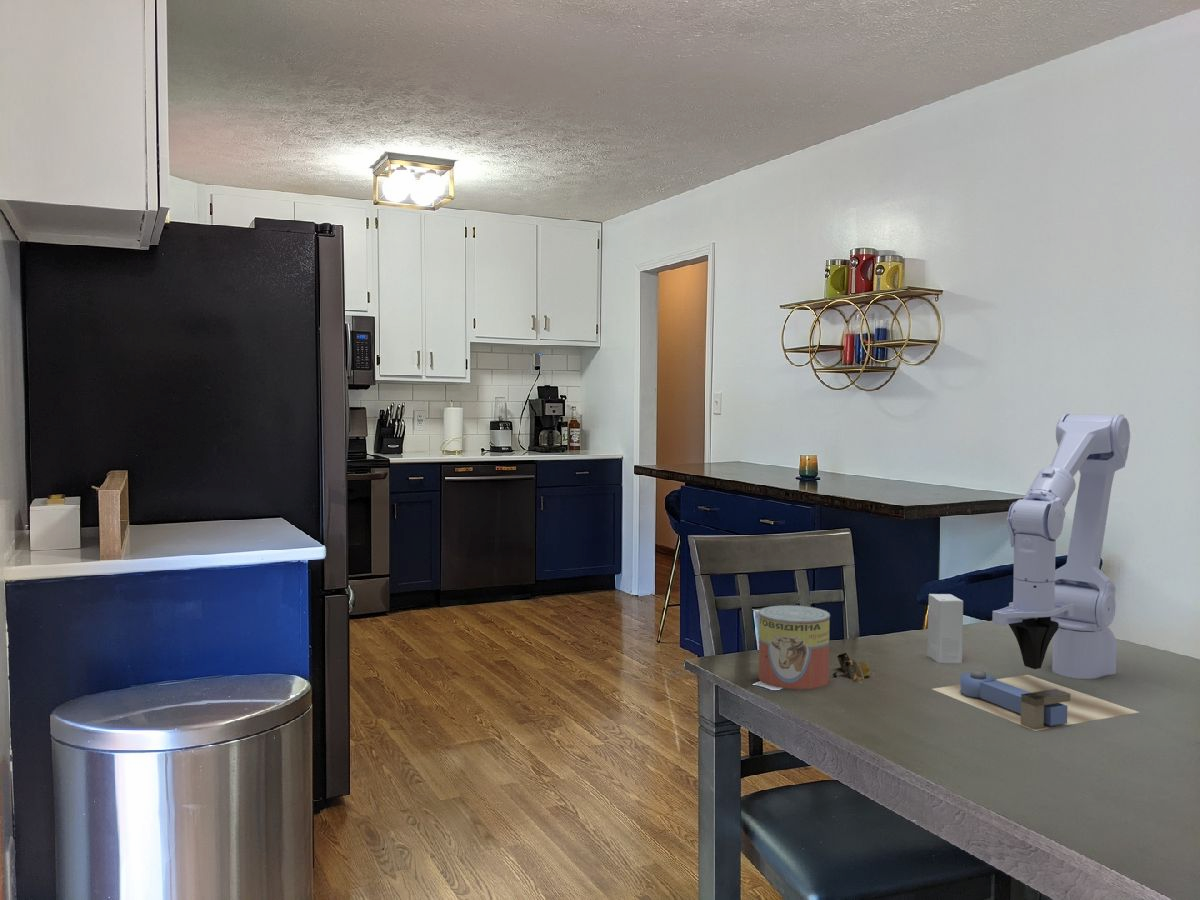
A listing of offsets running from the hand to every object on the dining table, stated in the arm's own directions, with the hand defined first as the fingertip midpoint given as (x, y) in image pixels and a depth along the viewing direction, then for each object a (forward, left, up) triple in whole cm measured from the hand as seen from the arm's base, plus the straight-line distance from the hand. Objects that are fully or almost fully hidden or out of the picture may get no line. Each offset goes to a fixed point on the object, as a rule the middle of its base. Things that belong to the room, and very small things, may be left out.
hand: (1032, 667), depth 142 cm
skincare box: (-2, -21, -6) cm, 22 cm away
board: (+2, +2, -5) cm, 6 cm away
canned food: (+29, -21, -6) cm, 36 cm away
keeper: (+9, +11, -5) cm, 15 cm away
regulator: (+20, -17, -6) cm, 27 cm away
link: (+8, +3, -4) cm, 9 cm away
